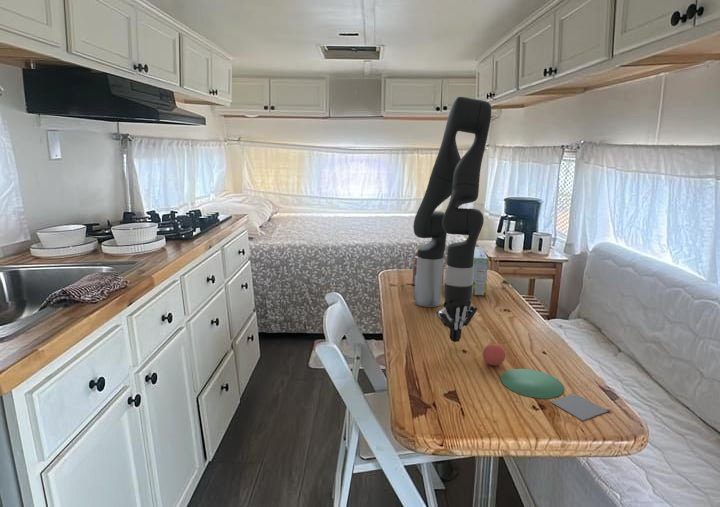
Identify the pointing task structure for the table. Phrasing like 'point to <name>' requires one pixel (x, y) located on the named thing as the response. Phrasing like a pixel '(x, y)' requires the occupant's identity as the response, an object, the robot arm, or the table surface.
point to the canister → (416, 268)
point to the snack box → (479, 272)
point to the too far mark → (579, 407)
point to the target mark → (532, 383)
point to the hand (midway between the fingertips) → (454, 340)
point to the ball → (494, 354)
